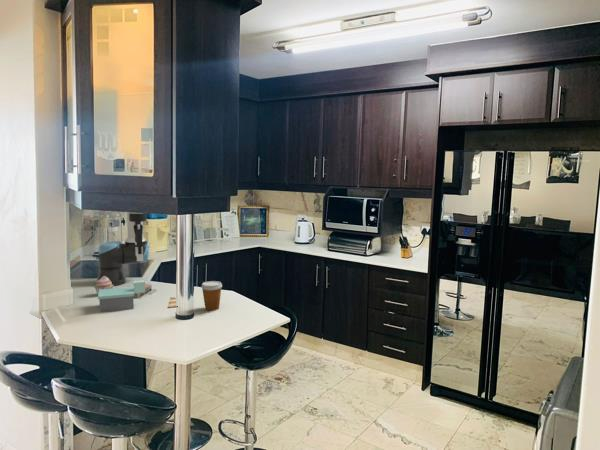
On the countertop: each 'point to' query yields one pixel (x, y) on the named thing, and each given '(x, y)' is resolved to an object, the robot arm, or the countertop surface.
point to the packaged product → (147, 292)
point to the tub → (116, 304)
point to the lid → (122, 291)
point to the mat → (172, 302)
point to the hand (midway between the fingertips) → (139, 258)
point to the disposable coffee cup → (211, 294)
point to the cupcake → (103, 284)
